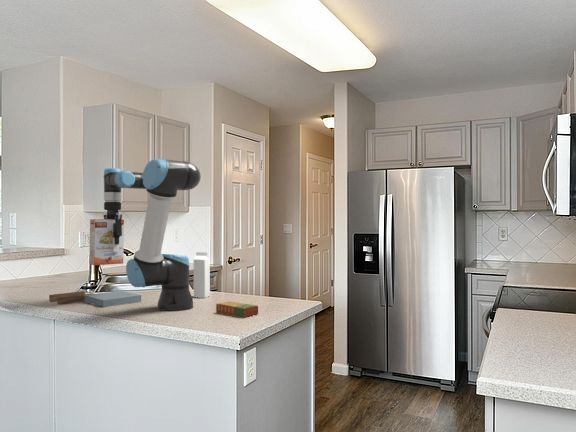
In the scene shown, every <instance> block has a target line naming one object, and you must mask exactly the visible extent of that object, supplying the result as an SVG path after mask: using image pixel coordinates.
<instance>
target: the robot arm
mask: <svg viewBox="0 0 576 432" xmlns="http://www.w3.org/2000/svg"><path fill="white" fill-rule="evenodd" d="M200 182H201V172H200V169H199V168H198V167H197V166H196V165H195V164H194V163H191V162H189V161H183V160H182V161H181V160H173V159H164V158H159V159H158V158H154V159H151V160H149V161H148V162H147V163H146V165H145V167H144V169H143V172H138V171H137V172H135V171H130V170H121V169H120V168H118V167H117V168H115V167H114V168H113V167H110V168H108V167H107V168H104V170H103V201H104V202H103V209H104V210H103V211H106V214H103V219H111V220H115V223H113V234H114V236H113V237H115V238H113V252H118V251H119V237H120V236H122V221H121V219H122V218H123V215H122V214H119V211H121V210H122V202H121V201H122V189H133V190H134V189H139V190H145V191H146V193H147V194H148V196H149V197H148V202H147V206H146V211H145V217H144V222H143V227H142V228H143V229H142V234H141V239H140V243H139V244H140V245H139V249H138V250H137V251H135V252H134V255H133V258H131V259H128V260H127V261H126V265H125V269H126V271H125V272H126V276H127V280H128V282H129V284H130V285H131V286H133V288H148V287H154V286H161V292H160V295H159V298H158V301H157V308H156V309H158V310H160V311H166V312H167V311H171V312H173V311H175V312H176V311H184V310H190V309H192V308H193V307H194V301H193V296H192V293H191V291H190V260H189V259H190V258H189V257H188V256H186V255H180V254H171V253H162V248H163V243H164V237H165V233H166V229H167V222H168V219H169V213H170V209H171V203H172V200H173V199H175V198H176V197H177V194H178V191H190V190H192V189H195V188H196V187H197V186H198V185H199V183H200Z"/></svg>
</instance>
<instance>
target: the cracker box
mask: <svg viewBox="0 0 576 432" xmlns="http://www.w3.org/2000/svg"><path fill="white" fill-rule="evenodd" d="M121 221H122V236H120V237H119V251H118V252H113V238H115V237H113V236H114V234H113V223H115V220H111V219H104V218H96V219H95V218H93V219H92V218H91V219H89V256H88V257H89V258H88V259H89V261H88V263H89V265H90V266H91V265H92V266H104V265H106V266H107V265H119V264H121V265H122V264H124V246H125V244H124V242H125V240H124V239H125V220H124V219H121Z"/></svg>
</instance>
